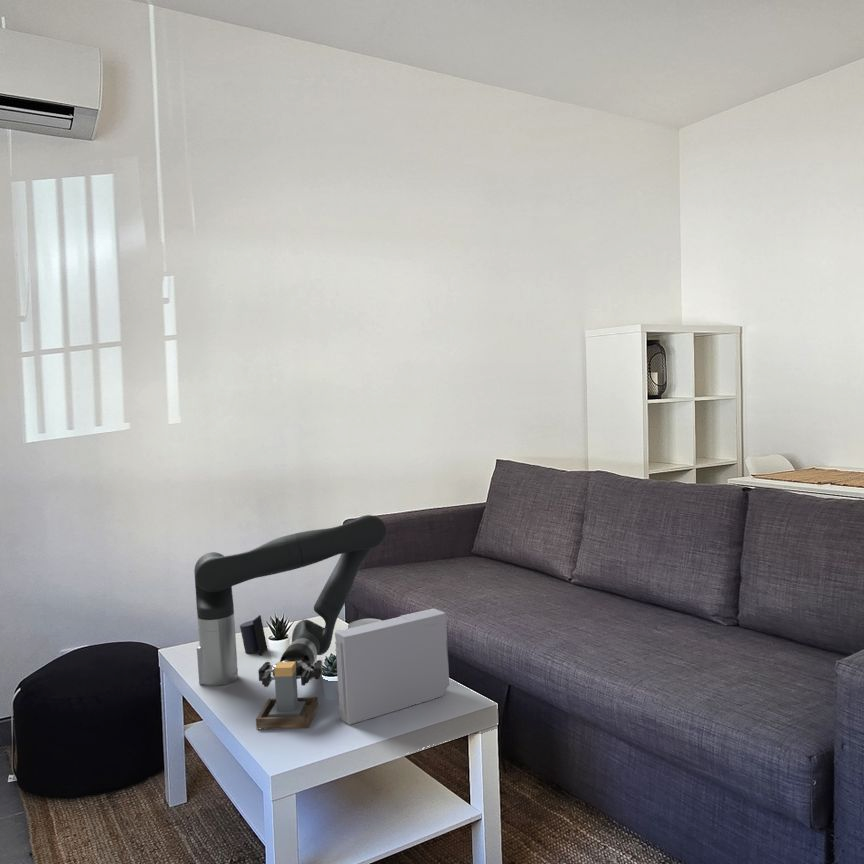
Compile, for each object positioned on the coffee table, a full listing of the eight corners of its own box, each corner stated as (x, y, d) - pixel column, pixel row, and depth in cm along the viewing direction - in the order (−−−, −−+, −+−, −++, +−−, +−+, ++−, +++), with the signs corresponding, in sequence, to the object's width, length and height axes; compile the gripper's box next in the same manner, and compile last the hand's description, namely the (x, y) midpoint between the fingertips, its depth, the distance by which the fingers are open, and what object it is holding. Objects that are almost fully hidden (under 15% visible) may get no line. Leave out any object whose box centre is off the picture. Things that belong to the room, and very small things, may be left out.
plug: (269, 721, 177) (265, 670, 177) (276, 708, 184) (273, 660, 184) (300, 720, 177) (296, 669, 176) (306, 707, 184) (303, 658, 183)
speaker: (274, 648, 230) (267, 614, 230) (260, 656, 225) (254, 620, 225) (254, 648, 234) (248, 614, 234) (241, 655, 229) (234, 620, 229)
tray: (256, 729, 175) (255, 719, 175) (269, 708, 187) (268, 698, 186) (308, 727, 174) (307, 717, 174) (318, 706, 186) (317, 697, 186)
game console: (336, 717, 179) (331, 631, 178) (436, 687, 194) (432, 608, 193) (348, 725, 175) (343, 637, 174) (449, 694, 189) (445, 612, 188)
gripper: (269, 643, 194) (251, 666, 178) (327, 641, 194) (314, 664, 178) (271, 673, 195) (253, 699, 179) (328, 671, 194) (316, 697, 178)
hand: (284, 682), depth 178 cm, fingers open, 8 cm apart
